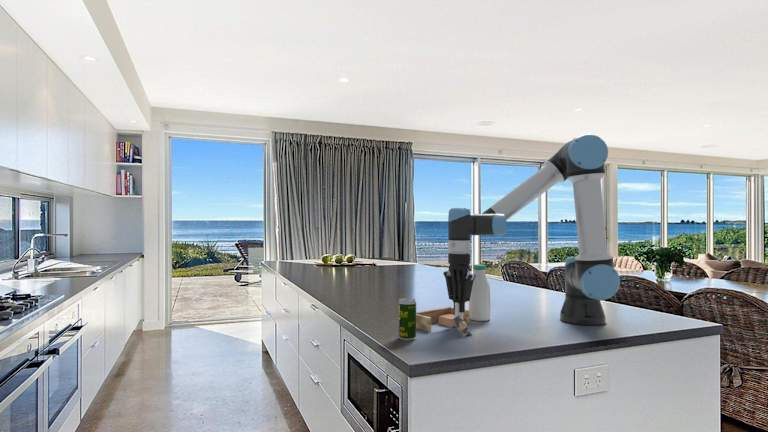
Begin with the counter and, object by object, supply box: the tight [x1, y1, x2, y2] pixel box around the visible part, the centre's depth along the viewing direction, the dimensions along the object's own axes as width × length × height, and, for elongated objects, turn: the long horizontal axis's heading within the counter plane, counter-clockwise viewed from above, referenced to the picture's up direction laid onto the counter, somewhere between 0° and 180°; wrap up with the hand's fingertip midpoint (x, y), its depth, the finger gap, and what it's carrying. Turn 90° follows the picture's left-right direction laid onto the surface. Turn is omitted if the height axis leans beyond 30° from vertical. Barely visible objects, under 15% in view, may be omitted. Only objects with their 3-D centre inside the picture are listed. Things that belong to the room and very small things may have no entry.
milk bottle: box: [468, 263, 491, 322], centre depth 170 cm, size 8×8×20 cm
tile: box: [438, 314, 456, 328], centre depth 162 cm, size 6×6×3 cm
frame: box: [416, 306, 471, 333], centre depth 161 cm, size 9×20×4 cm, turn 129°
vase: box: [453, 316, 473, 338], centre depth 147 cm, size 5×5×6 cm
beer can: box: [398, 297, 417, 342], centre depth 142 cm, size 5×5×12 cm
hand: (459, 321), depth 159 cm, fingers closed
